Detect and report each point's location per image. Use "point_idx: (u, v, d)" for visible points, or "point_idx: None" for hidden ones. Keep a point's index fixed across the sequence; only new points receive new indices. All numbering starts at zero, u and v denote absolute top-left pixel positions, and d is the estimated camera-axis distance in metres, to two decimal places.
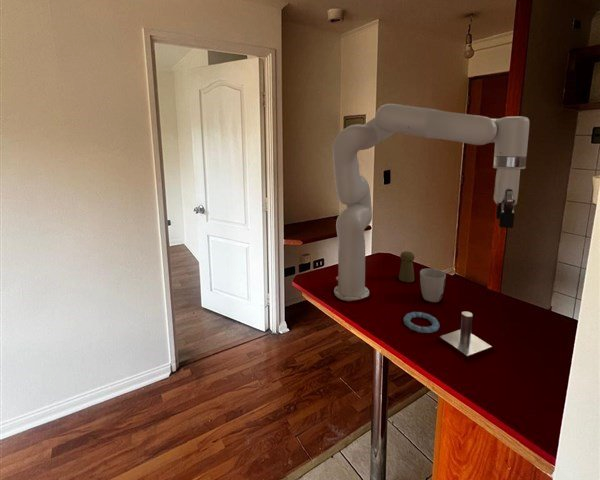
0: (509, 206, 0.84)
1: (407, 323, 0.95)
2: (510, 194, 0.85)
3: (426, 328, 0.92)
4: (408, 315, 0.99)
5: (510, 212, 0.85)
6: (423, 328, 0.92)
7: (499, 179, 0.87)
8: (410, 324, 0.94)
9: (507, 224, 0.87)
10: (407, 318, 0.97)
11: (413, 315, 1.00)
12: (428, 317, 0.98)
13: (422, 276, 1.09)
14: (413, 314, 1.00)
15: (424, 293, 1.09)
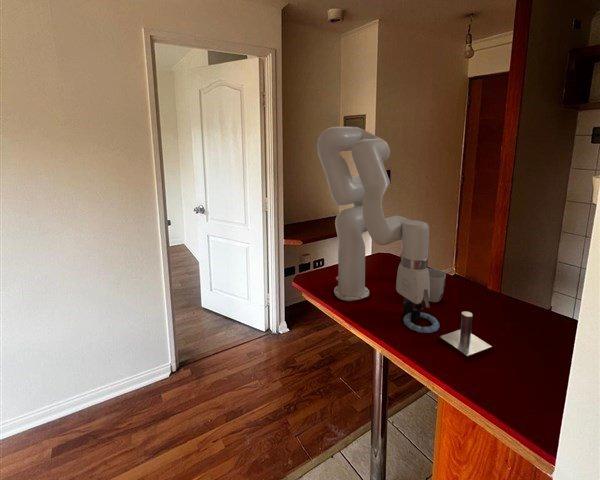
0: None
1: (407, 323, 0.95)
2: (426, 299, 0.94)
3: (426, 328, 0.92)
4: (408, 315, 0.99)
5: None
6: (423, 328, 0.92)
7: (418, 282, 0.93)
8: (410, 324, 0.94)
9: (418, 319, 0.98)
10: (407, 318, 0.97)
11: None
12: (428, 317, 0.98)
13: None
14: None
15: None
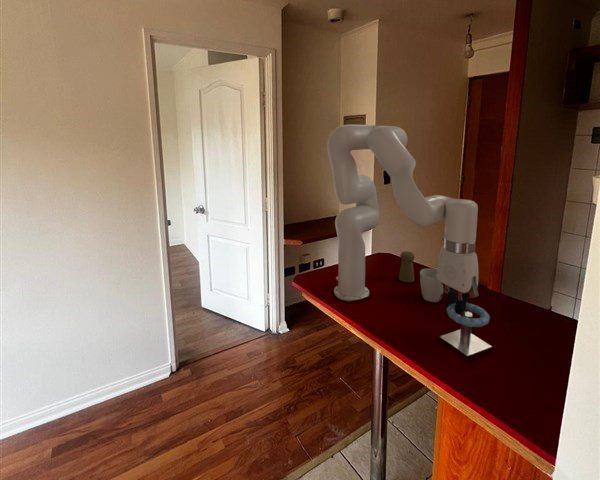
0: None
1: (453, 314, 0.84)
2: (475, 287, 0.83)
3: (476, 320, 0.81)
4: (452, 306, 0.88)
5: None
6: (472, 320, 0.82)
7: (465, 268, 0.82)
8: (456, 315, 0.84)
9: (464, 310, 0.87)
10: (451, 309, 0.86)
11: None
12: (475, 308, 0.87)
13: (422, 276, 1.09)
14: None
15: (424, 293, 1.09)
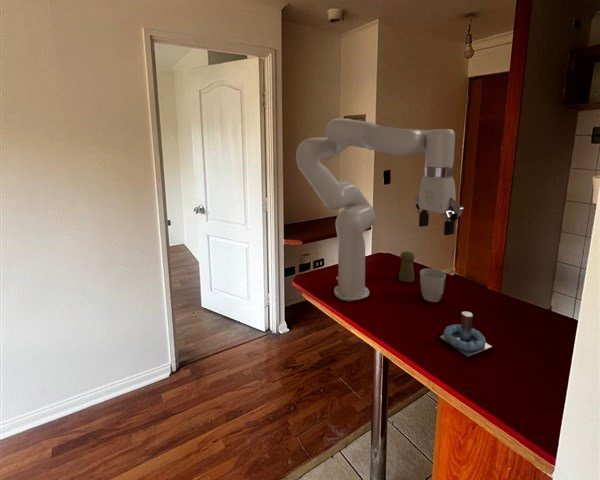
0: (459, 214, 0.88)
1: (449, 338, 0.86)
2: (456, 203, 0.89)
3: (472, 344, 0.83)
4: (449, 328, 0.90)
5: (455, 219, 0.90)
6: (468, 344, 0.83)
7: (443, 189, 0.89)
8: (453, 339, 0.85)
9: (452, 231, 0.91)
10: (448, 332, 0.88)
11: (454, 328, 0.90)
12: None
13: (422, 276, 1.09)
14: (454, 327, 0.91)
15: (424, 293, 1.09)
